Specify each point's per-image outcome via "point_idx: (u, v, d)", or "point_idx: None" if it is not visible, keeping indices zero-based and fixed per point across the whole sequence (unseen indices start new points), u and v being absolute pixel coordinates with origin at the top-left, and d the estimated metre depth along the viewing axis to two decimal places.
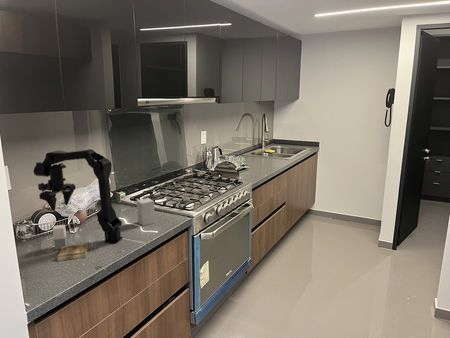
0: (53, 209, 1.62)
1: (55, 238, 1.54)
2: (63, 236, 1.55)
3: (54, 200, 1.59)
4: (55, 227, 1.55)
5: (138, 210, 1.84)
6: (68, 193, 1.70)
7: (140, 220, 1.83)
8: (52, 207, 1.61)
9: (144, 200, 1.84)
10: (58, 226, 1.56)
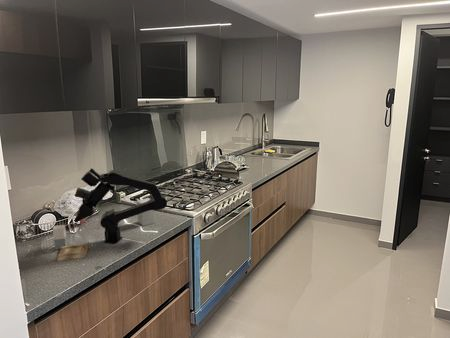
0: (77, 220, 1.52)
1: (55, 238, 1.54)
2: (63, 236, 1.55)
3: None
4: (55, 227, 1.55)
5: None
6: None
7: (140, 220, 1.83)
8: (78, 219, 1.52)
9: (144, 200, 1.84)
10: (58, 226, 1.56)
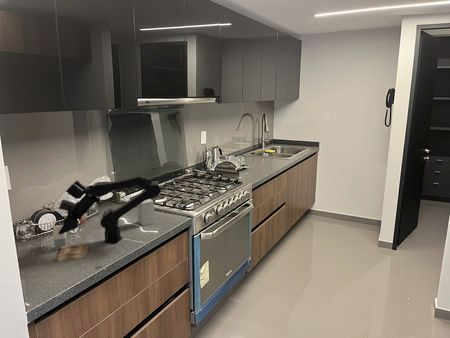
0: (61, 233, 1.52)
1: (55, 238, 1.54)
2: (63, 236, 1.55)
3: None
4: (55, 227, 1.55)
5: (138, 210, 1.84)
6: None
7: (140, 220, 1.83)
8: (62, 231, 1.51)
9: None
10: (58, 226, 1.56)
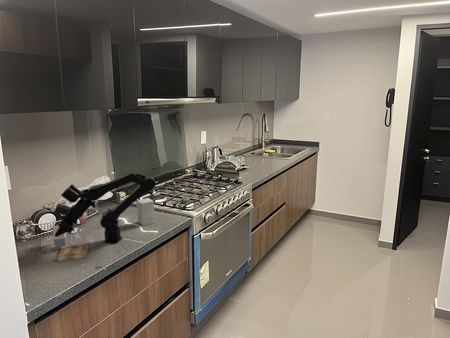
0: (57, 235, 1.53)
1: (55, 238, 1.54)
2: (63, 236, 1.55)
3: None
4: (55, 227, 1.55)
5: (138, 210, 1.84)
6: None
7: (140, 220, 1.83)
8: (58, 233, 1.53)
9: (144, 200, 1.84)
10: (58, 226, 1.56)
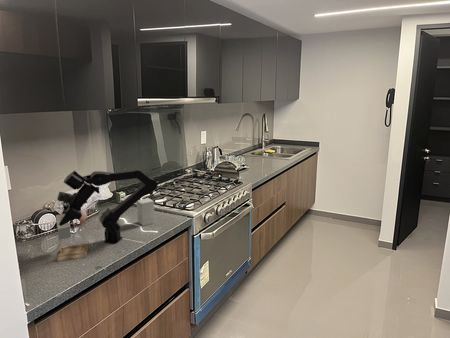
0: (62, 224, 1.48)
1: (59, 227, 1.48)
2: (67, 224, 1.50)
3: None
4: (58, 216, 1.49)
5: (138, 210, 1.84)
6: None
7: (140, 220, 1.83)
8: (63, 222, 1.48)
9: (144, 200, 1.84)
10: (60, 215, 1.50)
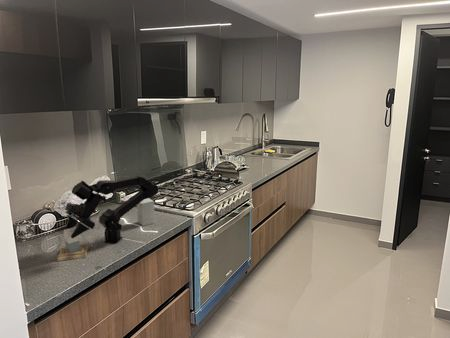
0: (74, 236, 1.46)
1: (70, 242, 1.47)
2: (78, 238, 1.49)
3: None
4: (67, 230, 1.47)
5: (138, 210, 1.84)
6: (75, 222, 1.54)
7: (140, 220, 1.83)
8: (76, 234, 1.46)
9: (144, 200, 1.84)
10: (69, 229, 1.49)
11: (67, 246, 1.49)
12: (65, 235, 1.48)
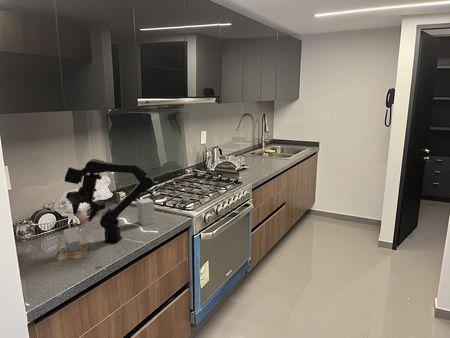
0: (91, 219, 1.57)
1: (70, 242, 1.47)
2: (78, 238, 1.49)
3: None
4: (67, 230, 1.47)
5: (138, 210, 1.84)
6: None
7: (140, 220, 1.83)
8: (92, 217, 1.57)
9: (144, 200, 1.84)
10: (69, 229, 1.49)
11: (67, 246, 1.49)
12: (65, 235, 1.48)
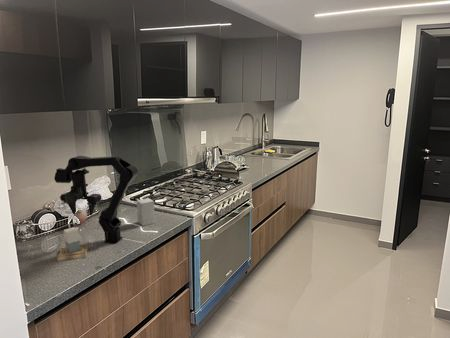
0: (92, 213, 1.61)
1: (70, 242, 1.47)
2: (78, 238, 1.49)
3: None
4: (67, 230, 1.47)
5: (138, 210, 1.84)
6: None
7: (140, 220, 1.83)
8: (92, 210, 1.61)
9: (144, 200, 1.84)
10: (69, 229, 1.49)
11: (67, 246, 1.49)
12: (65, 235, 1.48)
